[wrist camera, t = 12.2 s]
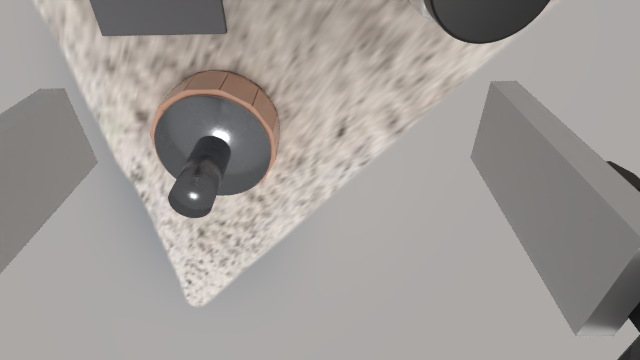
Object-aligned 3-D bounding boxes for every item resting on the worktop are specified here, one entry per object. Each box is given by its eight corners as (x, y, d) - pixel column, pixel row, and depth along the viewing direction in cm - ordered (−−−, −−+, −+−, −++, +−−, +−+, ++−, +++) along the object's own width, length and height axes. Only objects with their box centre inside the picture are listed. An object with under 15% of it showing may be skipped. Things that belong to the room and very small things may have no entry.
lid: (142, 94, 34) (95, 142, 27) (265, 93, 34) (250, 141, 27) (173, 191, 41) (142, 249, 34) (276, 190, 41) (266, 249, 34)
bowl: (155, 71, 38) (135, 90, 34) (273, 69, 38) (267, 88, 34) (183, 169, 46) (170, 194, 42) (283, 167, 45) (279, 193, 41)
